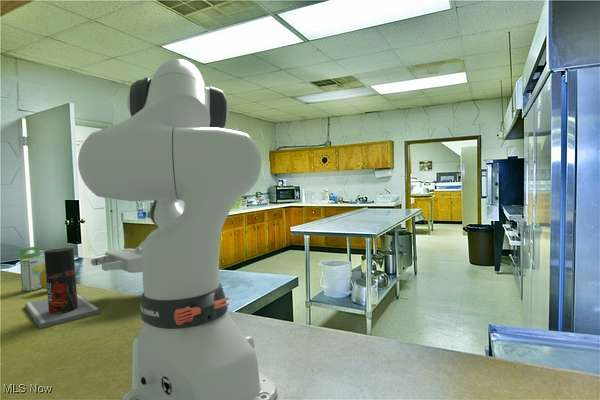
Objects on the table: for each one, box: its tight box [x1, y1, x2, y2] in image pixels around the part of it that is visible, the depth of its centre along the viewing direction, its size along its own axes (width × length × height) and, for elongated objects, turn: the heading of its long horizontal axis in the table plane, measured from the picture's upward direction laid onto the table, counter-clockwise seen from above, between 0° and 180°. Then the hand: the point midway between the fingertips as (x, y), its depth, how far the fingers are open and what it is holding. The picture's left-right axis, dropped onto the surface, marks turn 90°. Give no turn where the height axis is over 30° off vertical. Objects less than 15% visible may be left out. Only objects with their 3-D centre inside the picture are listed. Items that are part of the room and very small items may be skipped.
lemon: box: [40, 268, 47, 290], centre depth 106 cm, size 6×6×8 cm
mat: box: [24, 292, 101, 329], centre depth 88 cm, size 22×12×1 cm, turn 46°
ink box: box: [19, 245, 45, 292], centre depth 110 cm, size 7×4×13 cm, turn 168°
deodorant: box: [43, 247, 78, 314], centre depth 85 cm, size 6×6×15 cm
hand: (97, 264), depth 91 cm, fingers open, 8 cm apart
